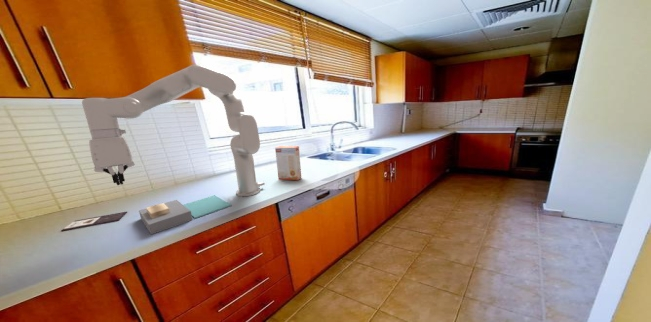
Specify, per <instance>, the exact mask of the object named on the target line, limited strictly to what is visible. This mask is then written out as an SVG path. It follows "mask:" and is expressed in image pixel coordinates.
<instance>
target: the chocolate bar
mask: <svg viewBox="0 0 651 322" xmlns="http://www.w3.org/2000/svg"><path fill="white" fill-rule="evenodd" d="M127 213H128V211H122V212H115V213H111V214H106V215H101V216H94V217H88V218H84V219H77V220H74V221H72V222H71V223H70V224H68V225H66V226H65V227H64V228H62V229H61V230H60V232H66V231H72V230H77V229H78V230H79V229H82V228H87V227H93V226H99V225H103V224H109V223H114V222H119V221H121V220H122V218H123V217H125V215H127Z"/></svg>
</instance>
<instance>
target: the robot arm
mask: <svg viewBox="0 0 651 322" xmlns="http://www.w3.org/2000/svg"><path fill="white" fill-rule="evenodd" d="M198 88H204V89H208V91H209V92H210V94H211V95H213V96H216V97H217V98H218V99H219V100H220V101H222V104H223V106H224V110H225V114H226V115H225V116H226V119H227V124H228V127H229V129H230V130H231V131H233V132H235V133H239V134H236V135H234V136H233V137H232V138H231V139H230V144H229V145H230V151H231V153H232V155H233V156H232V157H233V160H234V167H235V174H236V182H237V187H238V189H237V190H236V191H235V194H236V196H237V197H250V196H254V195H257V194H258V193H260V191H261V187H262V186H265V181H261V182H260V181H258V182H257V178H256V169H255V162H254V161H255V160H254V156H253V155H254V154H257V153H258V152H259V150H260V147H261V142H260V141H261V140H260V134H259V129H258V123H257V121H256V119H255V117H254V115H252V113H249V112H245V109H244V106H243V101H242V99H241V97H240V95H239V94H238V92H237V91H236V88H237V83H236V80H235V79H234V78H233V77H232V76H230V75H229V74H227V73H224V72H221V71H218V70H215V69H212V68H209V67H207V66H204V65H200V64H191V65H189V66H186V67H185V68H182V69H181V70H178V71H176V72H173V73H172V74H171V73H170V74H169V75H166V76H164V77H162V78H160V79H158V80H155V81H154V82H152V83H150V84H149V85H148V86H145V87H144V88H142V89H139V90H138V91H135V92H133V93H131V94H129V95H126V96H123V97H115V98H114V97H113V98H105V97H87V98H83V99H82V102H81V105H82V109H83V112H84V115H85V119H86V121H87V126H88V128H89V132H90V135H91V139H89V151H90V155H91V159H92V163H93V166H94V168H93V171H94V172H97V173H106V174H109V175H111V178H112V180H113V181H112V182H113V184H116V185H117V186H119V185H124V182H125V181H126V180H125V176H124V173H125V172H126V170H128V168H131V167H134V166H135V165H136V164H135V162H134V161H133V156H132V153H131V150H130V147H129V144H128V142H127V140H126V138H125V137H124V136H122V135H125V134H127V131H126V129H121V128H120V125H119V122H118V119H126V120H129V119H137V118H138V117H141V116H142V114H143V113H145V112H147V111H149V110H151V109H154V108H156V107H158V106H161V105H163V104H167V103H168V104H169V103H170V102H172V101H174V100H177V99H178V98H181V97H183V96H184V95H187V94H188V93H191V92H193V91H195V90H196V89H198ZM113 167H117V170H118V171H117V172H116V171H115V170H114V169H113Z"/></svg>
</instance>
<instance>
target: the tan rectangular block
mask: <svg viewBox="0 0 651 322" xmlns="http://www.w3.org/2000/svg"><path fill="white" fill-rule="evenodd" d="M145 209H147V212H148V214H149V215H150V216H151V218H155V217H158V216H161V215H164V214H168V213H170V210H169V208H168V207H167V206H166V205H165V204H164V202H162V203H158V204H154V205H151V206H147V207H145Z"/></svg>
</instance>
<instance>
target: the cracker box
mask: <svg viewBox="0 0 651 322" xmlns="http://www.w3.org/2000/svg"><path fill="white" fill-rule="evenodd" d="M274 149H275V159H276V168H277V179H278V180H282V181H283V180H284V181H285V180H288V181H299V180H300V179H302V168H301V156H300V146H296V145H295V146H293V145H282V146H281V145H279V146H276V147H275V148H274Z"/></svg>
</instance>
